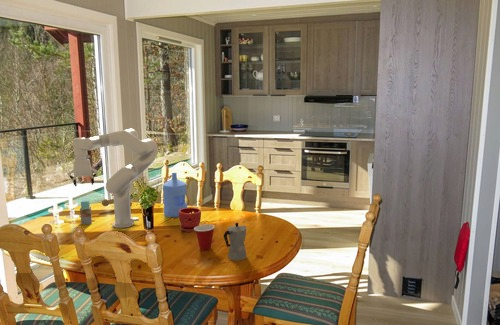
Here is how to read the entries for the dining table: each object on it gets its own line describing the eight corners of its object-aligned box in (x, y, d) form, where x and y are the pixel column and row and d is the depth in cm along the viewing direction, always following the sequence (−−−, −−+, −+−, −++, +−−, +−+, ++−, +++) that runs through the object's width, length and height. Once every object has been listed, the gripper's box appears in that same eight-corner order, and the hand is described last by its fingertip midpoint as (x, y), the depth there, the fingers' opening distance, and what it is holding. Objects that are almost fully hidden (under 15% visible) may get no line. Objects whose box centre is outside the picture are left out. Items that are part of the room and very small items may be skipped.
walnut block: (91, 214, 262) (91, 206, 261) (90, 216, 257) (90, 208, 257) (81, 215, 260) (80, 207, 259) (80, 217, 256) (80, 209, 255)
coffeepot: (239, 250, 214) (239, 217, 211) (253, 255, 208) (253, 221, 205) (218, 260, 203) (217, 225, 200) (231, 265, 197) (230, 229, 194)
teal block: (89, 206, 261) (89, 198, 260) (89, 209, 256) (88, 201, 255) (82, 207, 260) (81, 199, 259) (81, 209, 254) (80, 201, 253)
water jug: (159, 216, 272) (157, 175, 267) (170, 209, 286) (169, 170, 281) (181, 218, 267) (179, 176, 262) (191, 211, 282) (190, 171, 277)
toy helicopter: (133, 207, 294) (132, 188, 292) (105, 212, 281) (103, 193, 278) (128, 204, 300) (127, 186, 298) (100, 210, 287) (98, 191, 284)
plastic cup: (205, 243, 225) (204, 222, 223) (219, 247, 219) (219, 226, 216) (190, 249, 217) (189, 227, 215) (204, 254, 210) (204, 231, 208)
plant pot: (197, 233, 240) (196, 214, 237) (176, 232, 242) (175, 212, 240) (204, 226, 252) (203, 207, 250) (184, 225, 255) (183, 206, 253)
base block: (91, 221, 263) (91, 214, 262) (91, 223, 259) (91, 216, 258) (81, 222, 261) (81, 215, 260) (81, 225, 257) (80, 217, 256)
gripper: (96, 155, 258) (99, 182, 261) (66, 158, 253) (69, 185, 256) (96, 157, 251) (98, 185, 254) (65, 160, 246) (68, 187, 249)
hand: (84, 185), depth 255 cm, fingers open, 9 cm apart
